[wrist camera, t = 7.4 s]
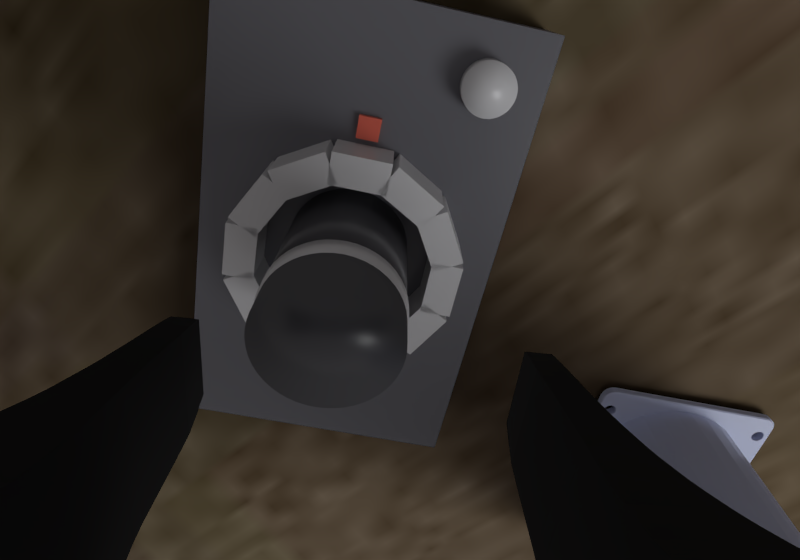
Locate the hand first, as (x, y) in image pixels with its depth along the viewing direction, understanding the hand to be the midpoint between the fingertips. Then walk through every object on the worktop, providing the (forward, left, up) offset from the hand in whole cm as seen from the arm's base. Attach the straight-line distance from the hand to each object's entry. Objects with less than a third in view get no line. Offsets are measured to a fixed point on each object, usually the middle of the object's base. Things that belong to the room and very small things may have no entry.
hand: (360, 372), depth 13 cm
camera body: (-1, +1, -10) cm, 10 cm away
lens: (0, +1, -7) cm, 7 cm away
